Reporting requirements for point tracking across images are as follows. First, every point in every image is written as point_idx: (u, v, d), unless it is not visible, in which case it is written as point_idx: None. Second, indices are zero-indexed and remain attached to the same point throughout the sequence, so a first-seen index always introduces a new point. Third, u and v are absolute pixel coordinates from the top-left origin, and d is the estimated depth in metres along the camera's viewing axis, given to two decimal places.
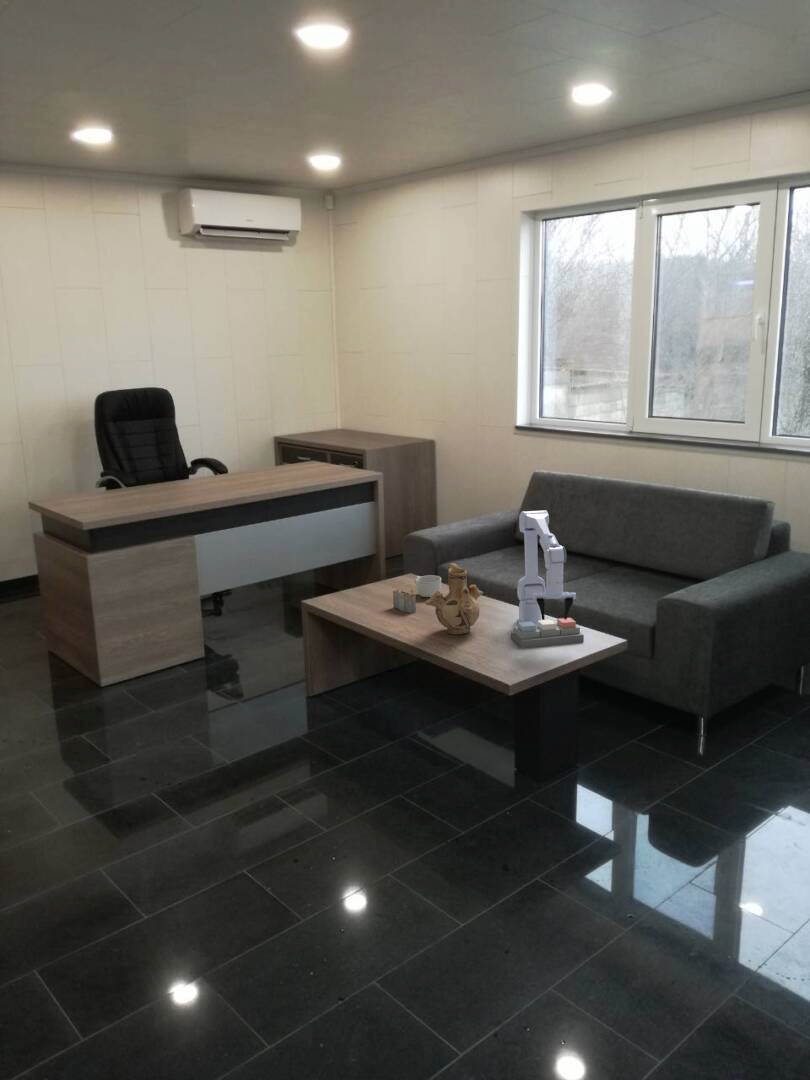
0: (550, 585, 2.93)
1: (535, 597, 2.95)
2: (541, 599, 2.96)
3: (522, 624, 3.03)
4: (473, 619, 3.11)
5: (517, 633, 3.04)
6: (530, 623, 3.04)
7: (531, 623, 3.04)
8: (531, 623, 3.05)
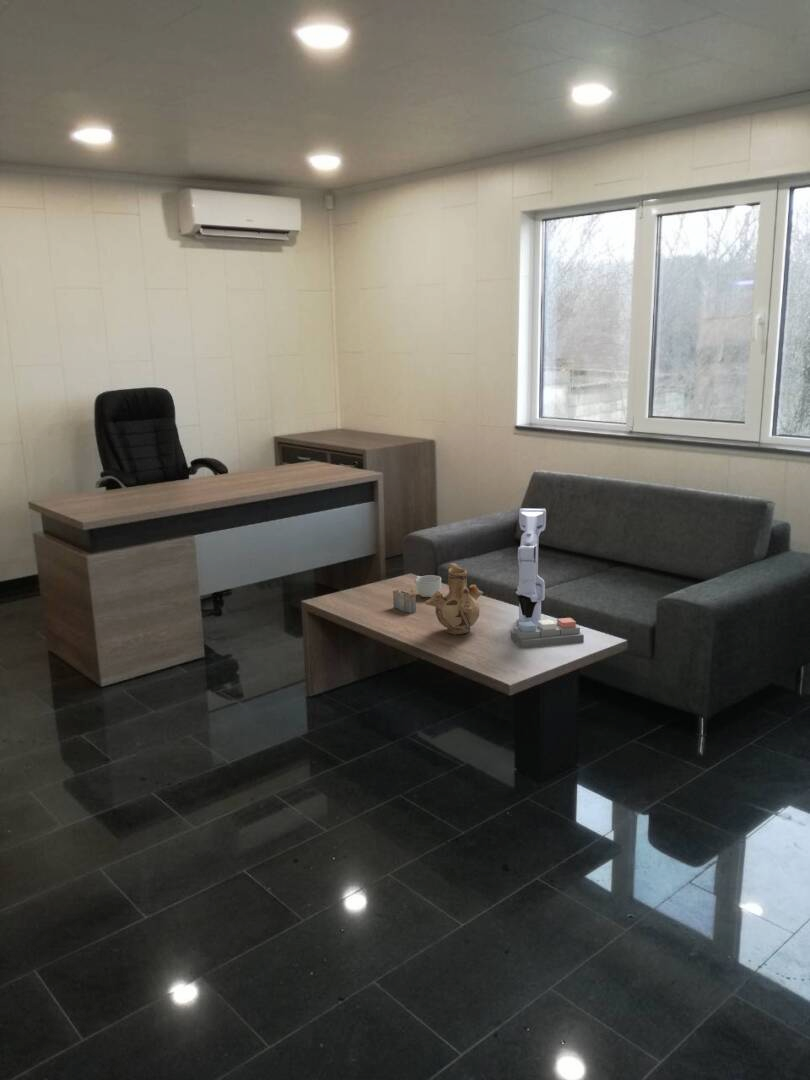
0: None
1: (518, 589, 3.08)
2: None
3: (522, 624, 3.03)
4: (473, 619, 3.11)
5: (517, 633, 3.04)
6: (530, 623, 3.04)
7: (531, 623, 3.04)
8: (531, 623, 3.05)
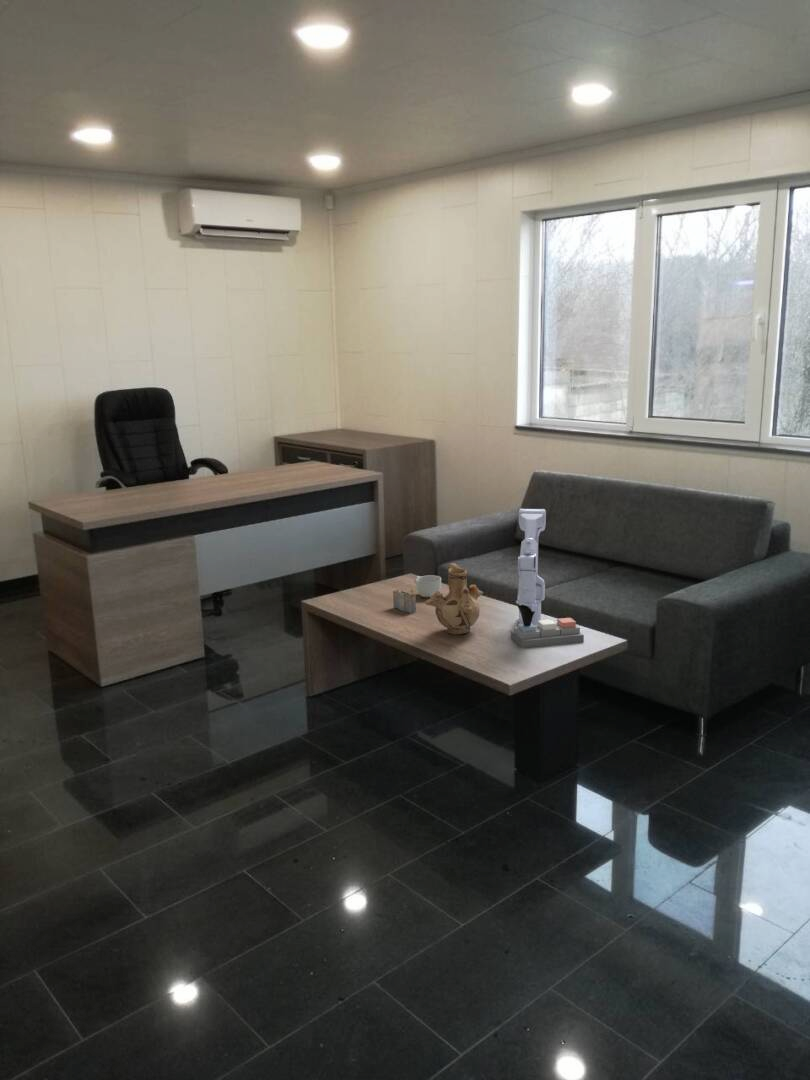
0: None
1: (517, 598, 3.08)
2: None
3: (522, 625, 3.03)
4: (473, 619, 3.11)
5: (517, 633, 3.04)
6: None
7: (531, 624, 3.04)
8: (531, 624, 3.05)
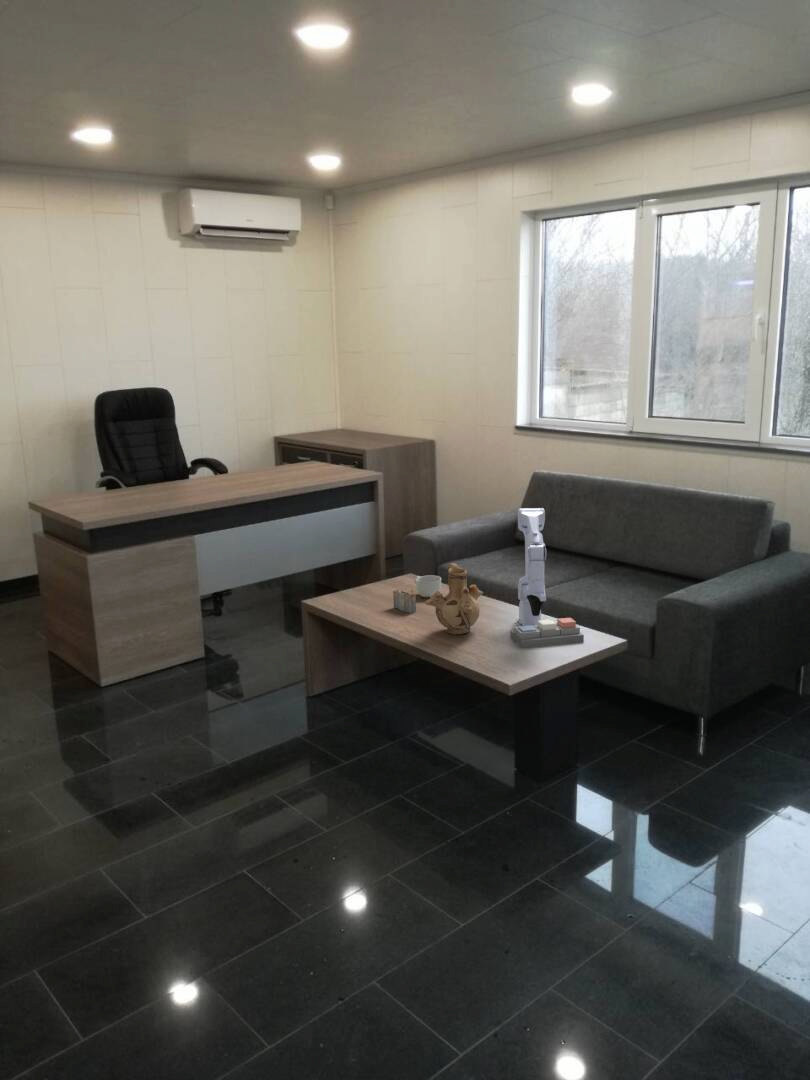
0: None
1: (526, 588, 3.08)
2: None
3: (522, 628, 3.04)
4: (473, 619, 3.11)
5: (517, 633, 3.04)
6: (530, 627, 3.05)
7: (531, 627, 3.05)
8: (531, 627, 3.05)
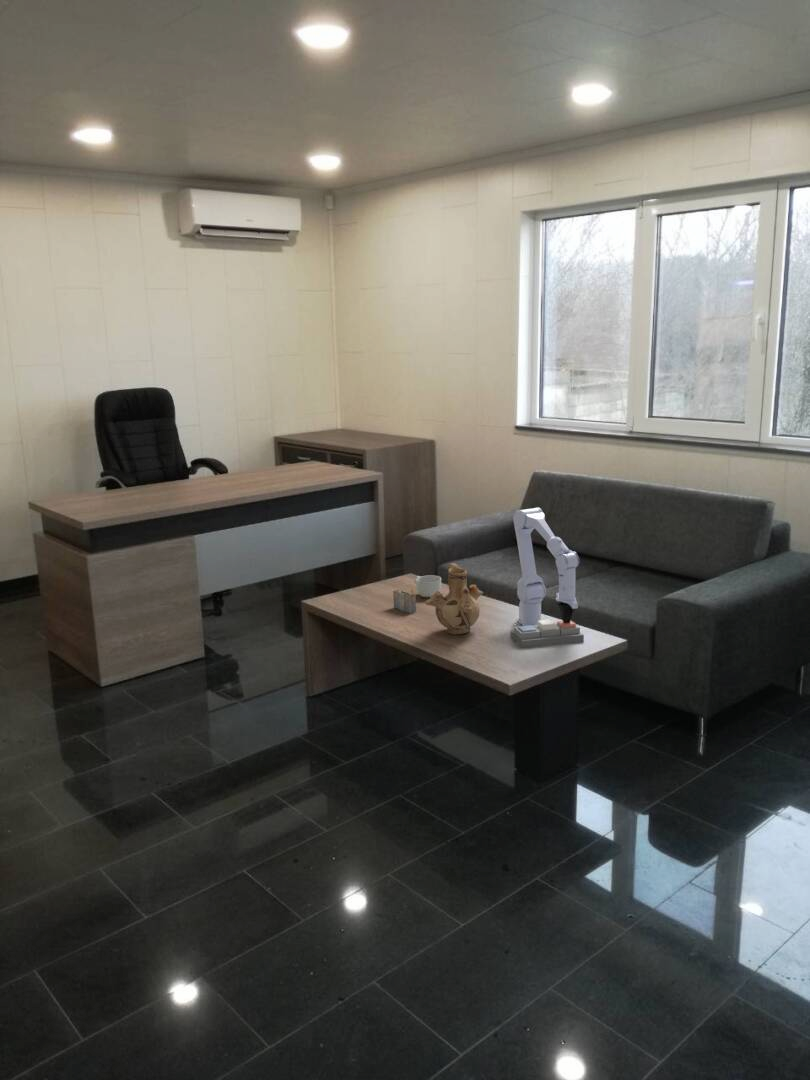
0: None
1: (556, 596, 3.12)
2: None
3: (522, 628, 3.04)
4: (473, 619, 3.11)
5: (517, 633, 3.04)
6: (530, 627, 3.05)
7: (531, 627, 3.05)
8: (531, 627, 3.05)
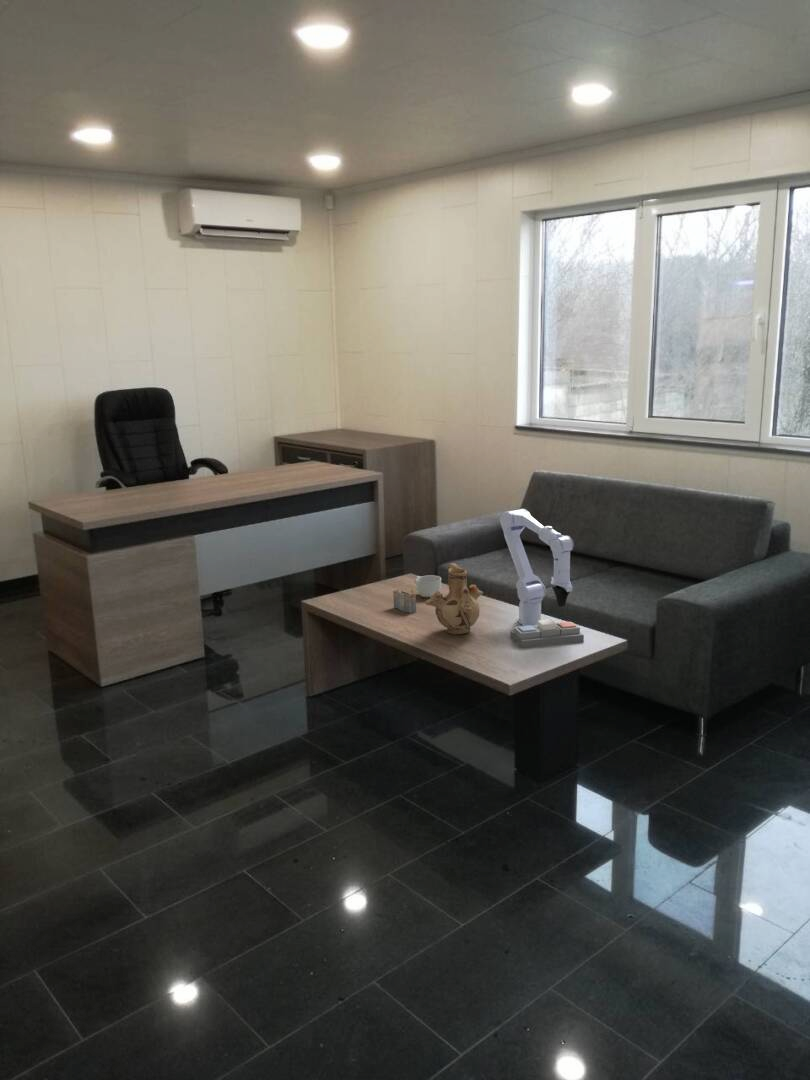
0: None
1: (551, 580, 3.15)
2: None
3: (522, 628, 3.04)
4: (473, 619, 3.11)
5: (517, 633, 3.04)
6: (530, 627, 3.05)
7: (531, 627, 3.05)
8: (531, 627, 3.05)
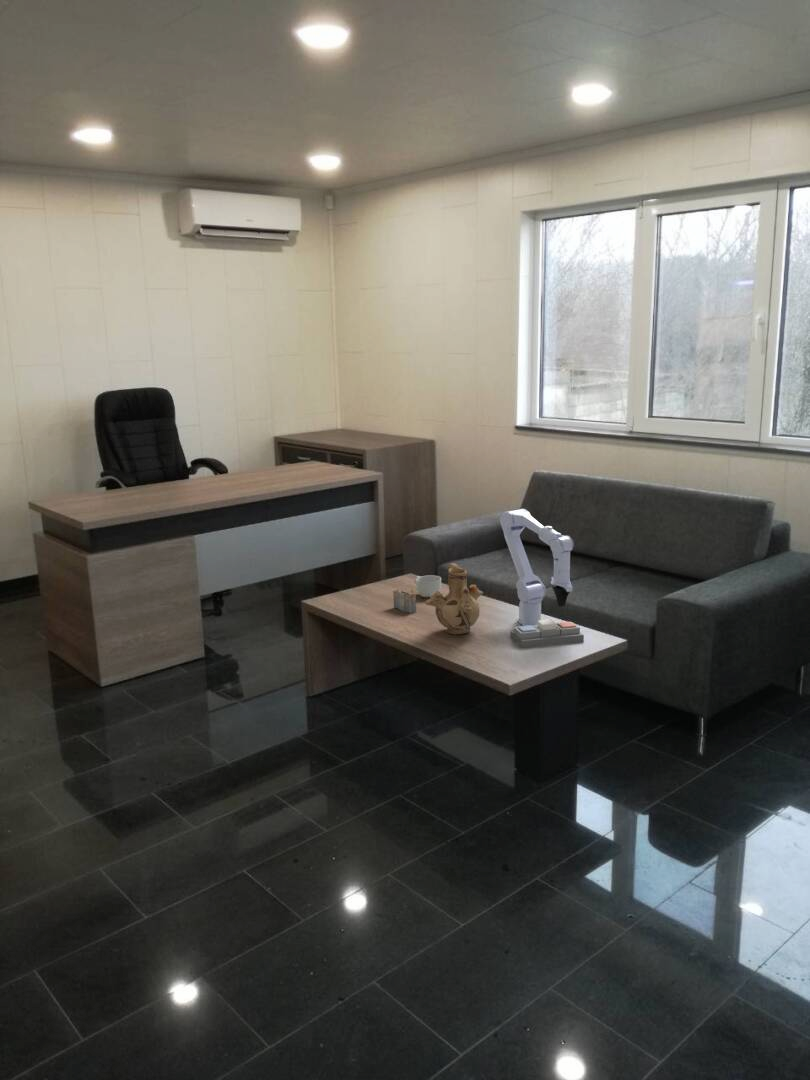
0: None
1: (551, 580, 3.15)
2: None
3: (522, 628, 3.04)
4: (473, 619, 3.11)
5: (517, 633, 3.04)
6: (530, 627, 3.05)
7: (531, 627, 3.05)
8: (531, 627, 3.05)
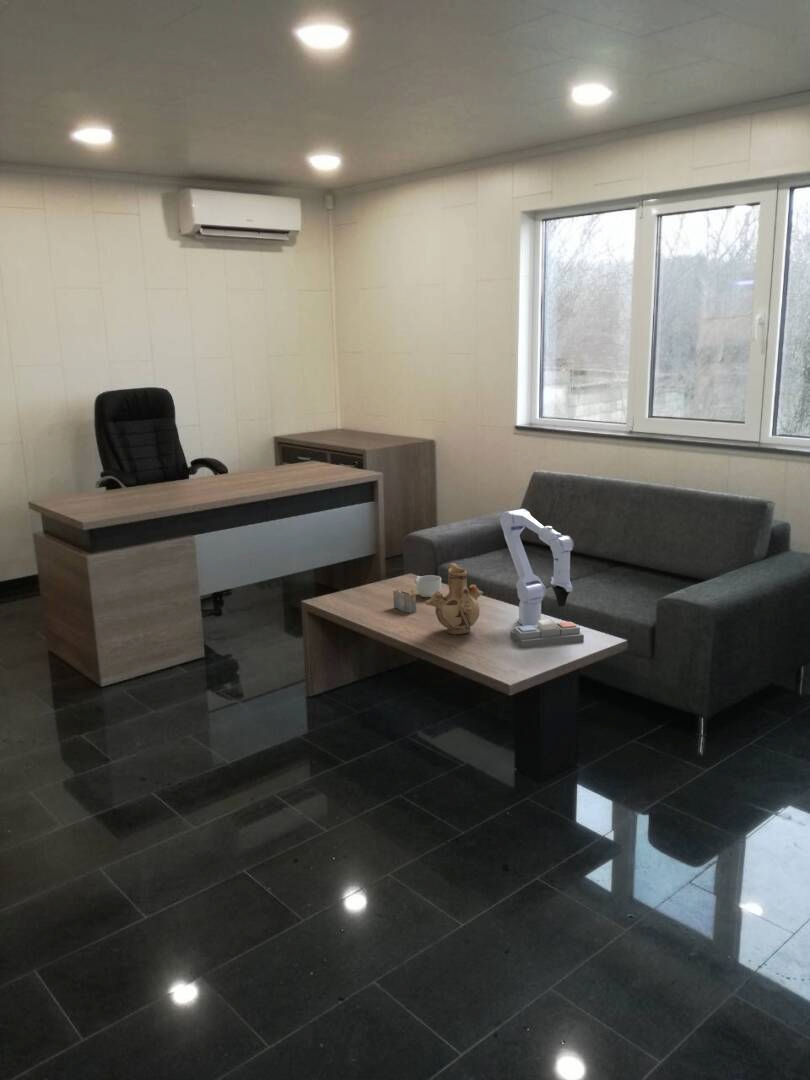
0: None
1: (551, 580, 3.15)
2: None
3: (522, 628, 3.04)
4: (473, 619, 3.11)
5: (517, 633, 3.04)
6: (530, 627, 3.05)
7: (531, 627, 3.05)
8: (531, 627, 3.05)
